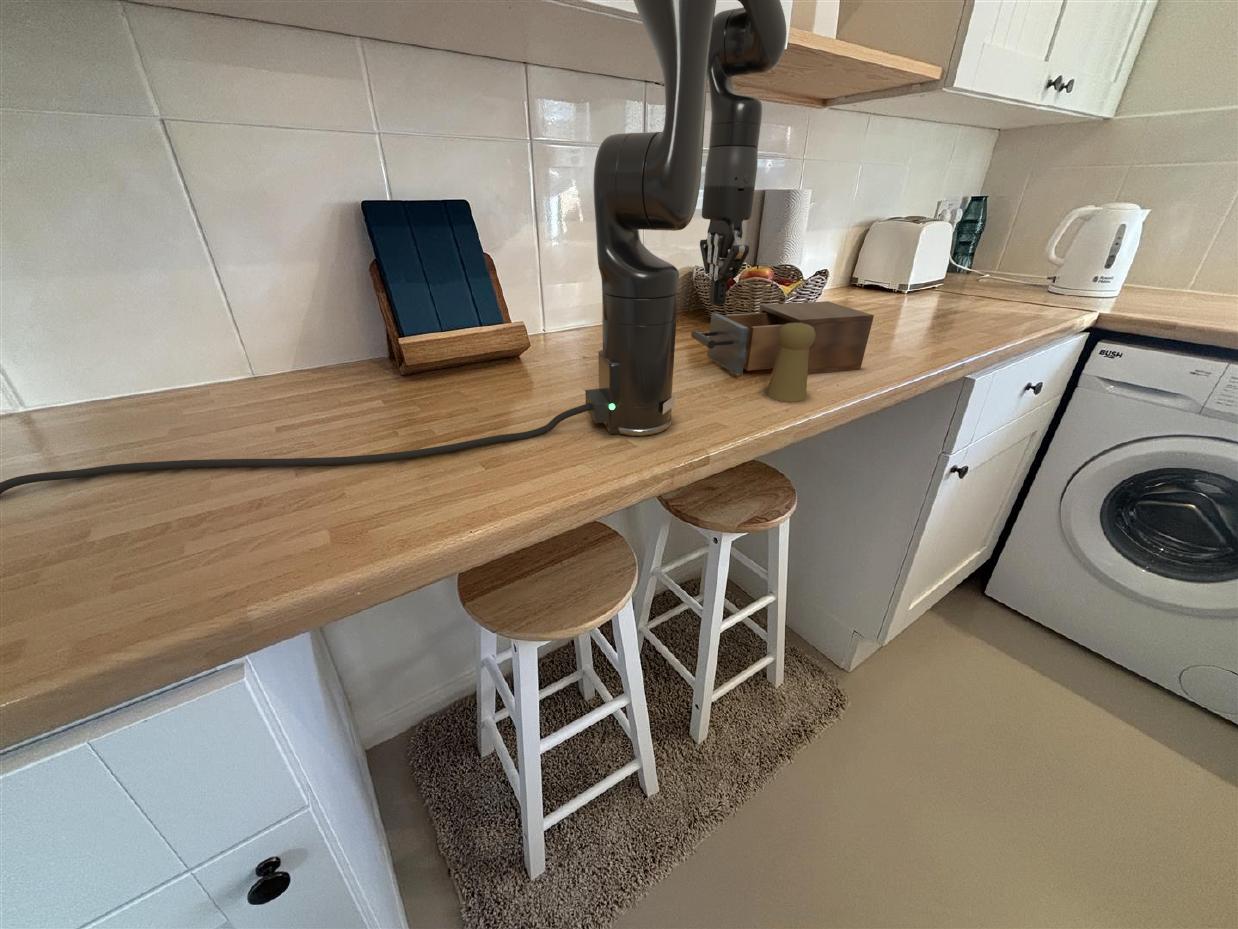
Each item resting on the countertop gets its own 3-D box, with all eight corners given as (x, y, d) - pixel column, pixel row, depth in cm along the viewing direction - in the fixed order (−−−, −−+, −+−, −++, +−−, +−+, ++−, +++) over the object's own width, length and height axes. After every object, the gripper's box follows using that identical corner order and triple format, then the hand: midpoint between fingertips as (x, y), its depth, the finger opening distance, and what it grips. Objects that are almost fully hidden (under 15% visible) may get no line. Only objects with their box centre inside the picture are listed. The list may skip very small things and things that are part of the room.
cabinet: (789, 376, 85) (800, 319, 81) (753, 355, 96) (760, 304, 91) (860, 369, 89) (874, 315, 84) (817, 350, 99) (827, 301, 95)
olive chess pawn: (801, 388, 80) (814, 319, 75) (810, 402, 75) (825, 329, 69) (763, 387, 80) (774, 318, 75) (769, 400, 75) (781, 328, 70)
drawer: (710, 377, 82) (715, 330, 78) (684, 357, 91) (687, 314, 88) (805, 368, 86) (814, 323, 82) (770, 350, 96) (777, 309, 92)
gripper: (688, 184, 78) (680, 297, 86) (727, 182, 67) (713, 313, 75) (731, 185, 80) (719, 296, 88) (775, 183, 69) (757, 310, 77)
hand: (717, 303), depth 82 cm, fingers closed
